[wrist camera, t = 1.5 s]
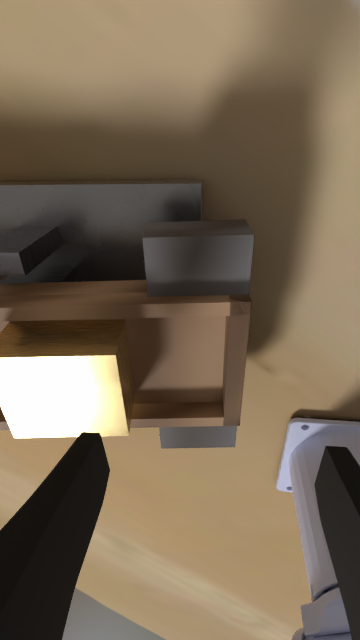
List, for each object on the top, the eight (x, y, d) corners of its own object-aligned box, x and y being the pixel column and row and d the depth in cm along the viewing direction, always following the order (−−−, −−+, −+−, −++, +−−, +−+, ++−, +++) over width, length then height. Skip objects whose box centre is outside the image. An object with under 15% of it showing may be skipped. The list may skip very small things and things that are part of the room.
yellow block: (125, 319, 14) (115, 355, 12) (135, 394, 17) (128, 435, 14) (9, 321, 14) (-21, 358, 12) (35, 396, 17) (14, 437, 15)
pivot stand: (202, 179, 15) (194, 202, 11) (200, 400, 23) (195, 459, 19) (-111, 182, 17) (-209, 203, 13) (-18, 386, 25) (-63, 437, 21)
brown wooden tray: (245, 219, 14) (257, 240, 11) (230, 418, 20) (236, 456, 18) (-236, 233, 14) (-314, 255, 12) (-103, 424, 20) (-138, 463, 18)
